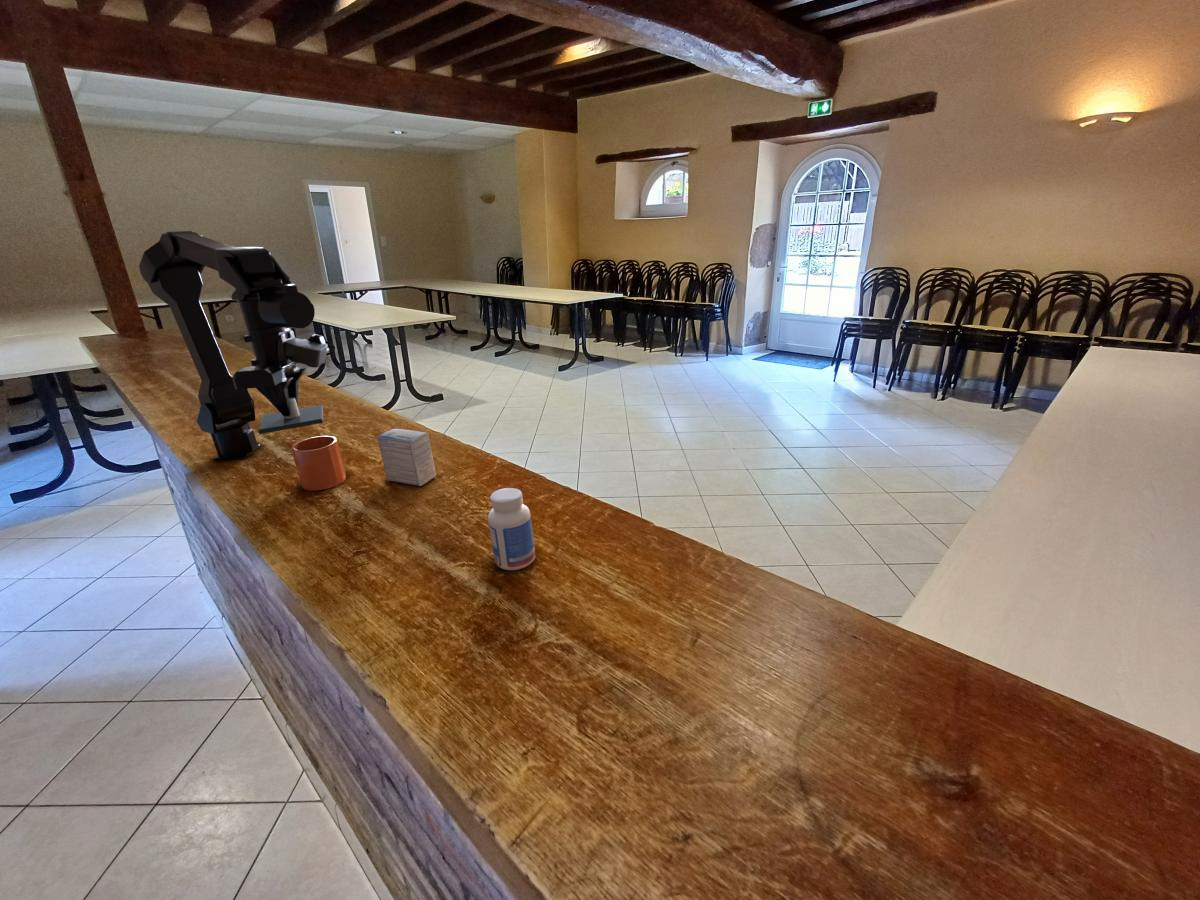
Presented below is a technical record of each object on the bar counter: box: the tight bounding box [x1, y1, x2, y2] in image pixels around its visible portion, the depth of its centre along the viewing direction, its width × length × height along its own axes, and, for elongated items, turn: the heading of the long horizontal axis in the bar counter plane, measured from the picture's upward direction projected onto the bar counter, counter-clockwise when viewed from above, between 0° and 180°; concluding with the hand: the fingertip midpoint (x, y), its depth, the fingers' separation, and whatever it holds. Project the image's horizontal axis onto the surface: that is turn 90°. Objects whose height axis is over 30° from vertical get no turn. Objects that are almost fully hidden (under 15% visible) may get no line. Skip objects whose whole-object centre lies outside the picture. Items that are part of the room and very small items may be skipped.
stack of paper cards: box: [377, 428, 437, 487], centre depth 97 cm, size 8×4×9 cm, turn 65°
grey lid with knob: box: [257, 398, 324, 435], centre depth 100 cm, size 10×10×4 cm
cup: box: [290, 435, 347, 492], centre depth 98 cm, size 7×7×8 cm
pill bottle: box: [487, 487, 536, 571], centre depth 72 cm, size 6×5×10 cm
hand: (290, 413), depth 100 cm, fingers closed on grey lid with knob, 2 cm apart
